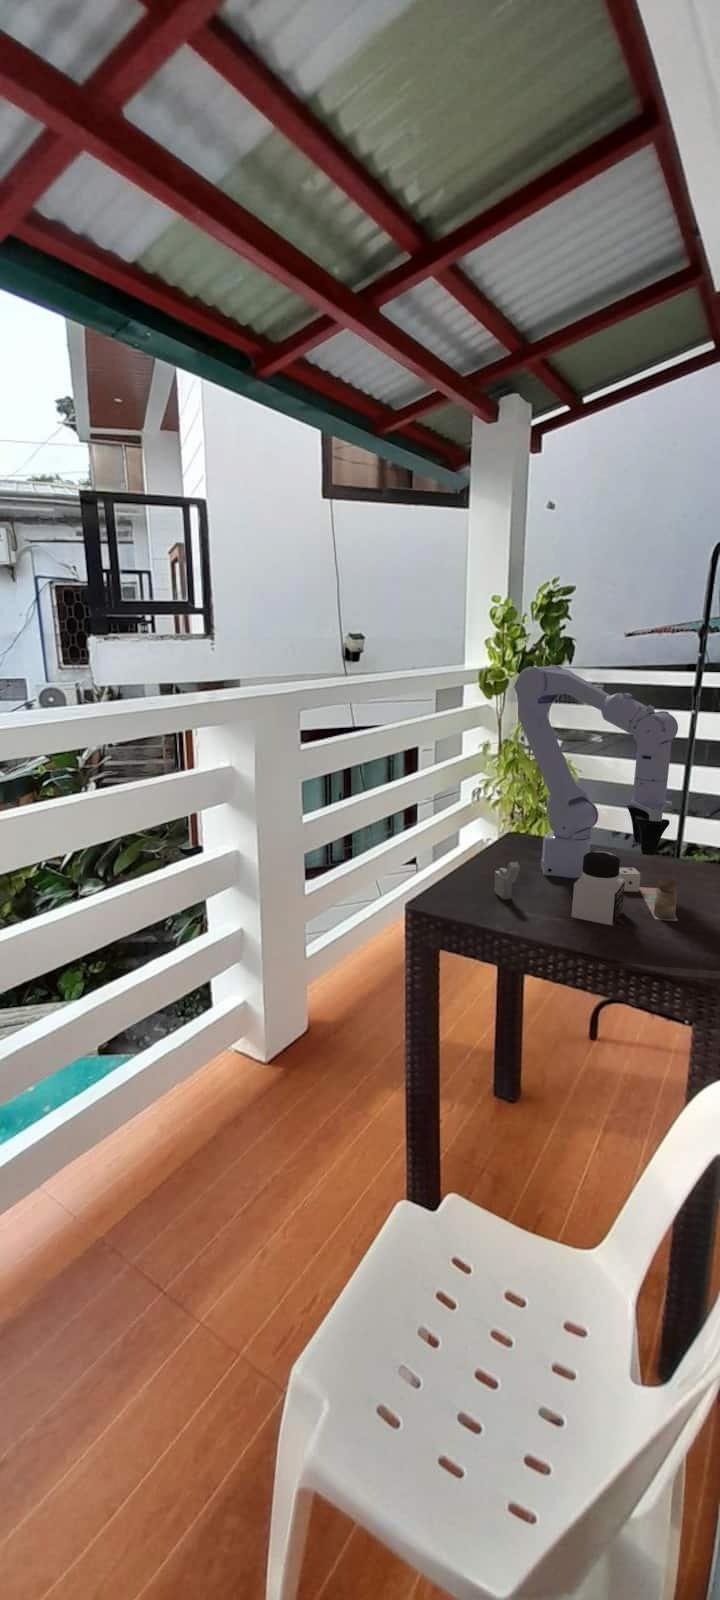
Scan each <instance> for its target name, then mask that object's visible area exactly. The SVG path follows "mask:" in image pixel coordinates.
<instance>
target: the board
mask: <svg viewBox="0 0 720 1600" xmlns="http://www.w3.org/2000/svg"><path fill="white" fill-rule="evenodd" d="M656 889H657V887H644V886H643V887H642V886H639V892H640V893H641V896H642V897H643V899H644V901H645V903H646V905H647V907H648V909H649V911H650V913H651V914H652V917H653V918H654V920H656V921H657V920H659V921H660V920H661V921H671V922H679V919H678V917H677V916H676V915H675V918H674V919H661V918H658V917H656V916H655V915H654V907H655V898H656Z"/></svg>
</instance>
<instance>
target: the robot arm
mask: <svg viewBox="0 0 720 1600" xmlns="http://www.w3.org/2000/svg"><path fill="white" fill-rule="evenodd" d="M513 687H514V691H515V693H516V695H517V717H518V721H519V723H520V724H521V727H522V729H523V732H524V735H525V738H526V739H527V742H528V744H529V747H530V749H531V751H532V753H533V757H534V759H535V762H536V764H537V766H538V769H539V771H540V773H541V776H542V779H543V782H544V784H545V787H546V788H547V791H548V793H549V796H548V799H547V803H546V804H545V805H546V806H545V807H546V810H547V812H548V813H547V814H548V824H549V828H550V830H551V831H552V832H549V833H547V832H545V833H544V834H543V840H542V856H541V859H540V868H541V869H542V876H551V877H552V876H553V877H563V878H568V879H569V878H571V879H579V878H580V877H581V876H582V869H583V857H584V855H585V854H587V853H590V851H591V850H590V849H591V838H592V828H593V827H595V826H596V824H597V823H598V821H599V810H598V808H597V806H596V805H595V804H594V803H593V802H592V801H591V800H590V799H589V797H588V796H587V795H588V794H587V793H586V791H585V790H583V789H582V788H581V787H579V786H578V785H577V784H576V781H575V780H574V777H573V775H572V772H571V770H570V768H569V766H568V763H567V761H566V758H565V757H564V754H563V750H562V749H561V746H560V744H559V742H558V739H557V736H556V734H555V732H554V729H553V727H552V725H551V722H550V720H549V717H548V714H549V711H550V709H551V708H552V707H551V706H552V705H553V704H554V703H555V701H556V700H557V699H559V697H560V696H561V695H568V696H570V697H571V698H574V699H576V700H578V701H581V702H583V703H585V704H587V705H588V706H591V707H593V708H595V709H597V710H599V711H600V712H601V716H602V718H603V720H604V721H606V722H608V723H610V724H612V725H613V726H615V727H617V728H619V729H621V730H623V731H624V732H626V733H628V734H630V735H632V736H633V738H634V741H636V744H637V746H636V747H637V749H636V758H635V769H634V776H633V777H634V778H633V779H634V780H633V789H632V798H631V800H630V804H629V805H628V804H627V805H626V808H627V810H628V813H629V816H630V819H631V820H630V821H631V826H632V835H633V840H634V843H636V844H637V843H639V844H640V850H641V854H642V855H644V856H645V855H646V856H655V854H656V852H657V849H658V847H659V844H660V841H661V838H662V836H663V835H664V832H665V831H666V829H667V828H668V827H669V825H670V822H671V821H670V820H669V819H667V818H665V819H664V818H663V811H664V810H665V808H667V807H668V808H671V807H673V802H672V801H671V800H666V798H667V792H668V791H667V790H668V789H667V788H668V781H669V769H670V762H671V761H670V759H671V748H672V740H673V739H675V737H676V736H677V734H678V730H679V724H678V722H677V719H676V718H675V716H673V715H672V714H670V713H669V712H668V711H664V710H661V711H657V712H656V711H655V709H656V708H655V706H652V705H646V704H643V703H642V702H639V701H638V700H635V699H633V696H634V695H633V694H631V693H629V692H624V693H622V692H617V693H614V694H609V693H607V692H606V691H604V690H602V689H601V688H599V687H598V686H596V685H594V684H592V683H591V682H589V681H587V680H585V679H583V678H582V677H580V676H578V675H577V674H575V673H574V672H572V671H571V670H570V669H566V668H563V667H561V666H560V665H556V664H551V665H547V666H527V667H525V668H523V669H522V670H521V671H520V673H519V674H518V676H517V678H516V681H515V683H514V686H513ZM662 818H663V819H662ZM549 869H550V870H549Z"/></svg>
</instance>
